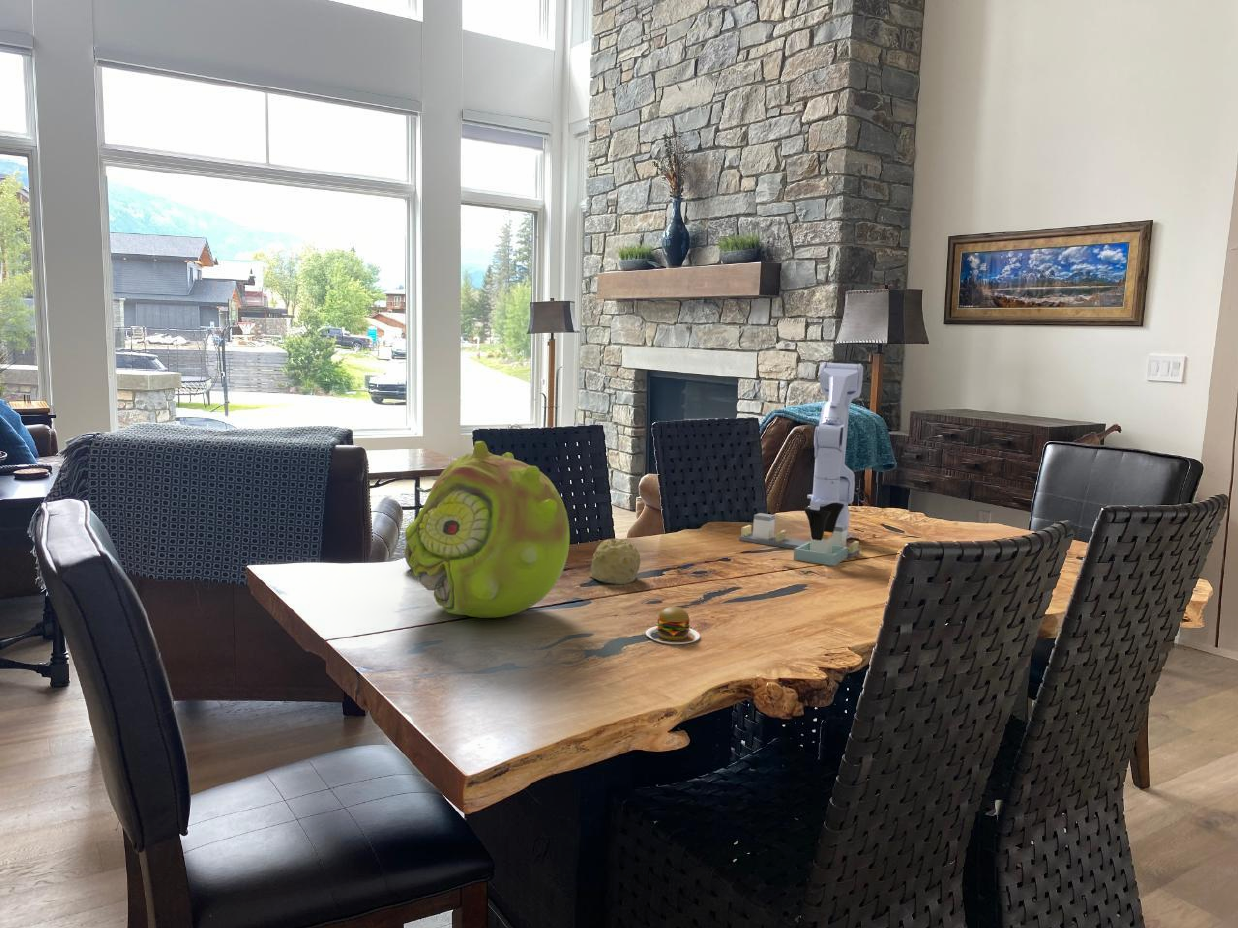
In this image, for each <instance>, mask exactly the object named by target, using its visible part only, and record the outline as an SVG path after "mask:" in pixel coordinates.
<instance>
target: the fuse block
mask: <svg viewBox="0 0 1238 928" xmlns="http://www.w3.org/2000/svg"><path fill="white" fill-rule="evenodd" d="M752 527H753V526H752V524H751V525H750V524H748V525H745V526H742V527H741V531H740V534H741V535H739V536H738V541H741V542H746V543H754V544H761V545H764V546H766V545H767V546H770V547H771V546H773V547H778V548H785V549H789V550H791V549H792V550H794V549H795V548H797V547H799V546H801V545H803V544H805V543H807V542H809V540H801V539H796V538H790V537H786V533H787V530H783V529H782V530H780V531H777V532H776V533H775V535H774V537H773V538H771V539H768V540H767V539H761V538H755V537H753V532H752ZM859 544H860V543H859V541H857V540H854V541H853V542H851V543H850V544H849V546H847V547H848V556H847V558H846V559H853V558H854V557H856V556H858V555H859V554H860V553H861V549H860V548H859Z"/></svg>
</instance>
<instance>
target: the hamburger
mask: <svg viewBox="0 0 1238 928" xmlns="http://www.w3.org/2000/svg"><path fill="white" fill-rule="evenodd" d="M657 618H658V619H657V623H655V624H654V625H655V626H652V627H650V628H648V629H647V630H646V631H645V635H646V636H647V637H648V638H650V639H651V640H653V641H656V642H659V643H662V644H669V645H684V644H689V643H694V642H696V641H698V640H699V639H700V638H701V635H700V633H699V632H698V631H696V630H694V629H692V628H691V626H690V617H689V613H688V612H687V610H686V609H684V608H682V607H679V606H668V607H665V608H664V609H662V610H661V611H660V612H659V614H658V617H657ZM655 632H657V634H658V635H659V638H661V639H664V641H663V640H659V639H656V638H653V637H652V636H651V635H652V634H653V633H655ZM689 634H690V635H692V636H694V639H693V640H691V641H686V642H685V641H684V642H683V641H682V640H685V639H687V637H688V635H689ZM665 640H668V641H665ZM671 641H682V642H671Z"/></svg>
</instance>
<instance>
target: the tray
mask: <svg viewBox="0 0 1238 928" xmlns="http://www.w3.org/2000/svg"><path fill="white" fill-rule="evenodd" d="M808 541H809V540H808ZM848 547H849V546H846V547H844V546H837V545H832V554H828V553H822V552H816V551H810V541H809V542H807V543H805V544H803V545H801V546H799V547H797V548H795V549H793V560H794V561H800V562H805V563H811V564H819V565H822V566H823V565H824V566H830V567H835V566H836V565H838V564H840V563H841V562H843V561H845V560H846V559H848V558H847V556H848Z"/></svg>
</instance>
